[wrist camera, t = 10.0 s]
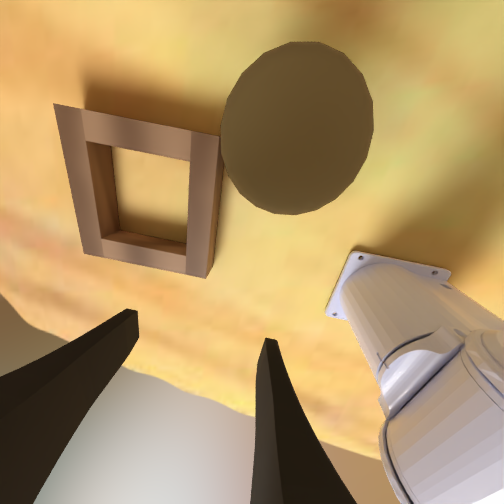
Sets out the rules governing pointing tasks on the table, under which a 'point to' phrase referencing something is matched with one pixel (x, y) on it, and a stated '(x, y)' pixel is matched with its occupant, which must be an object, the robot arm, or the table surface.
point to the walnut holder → (104, 193)
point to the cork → (297, 128)
